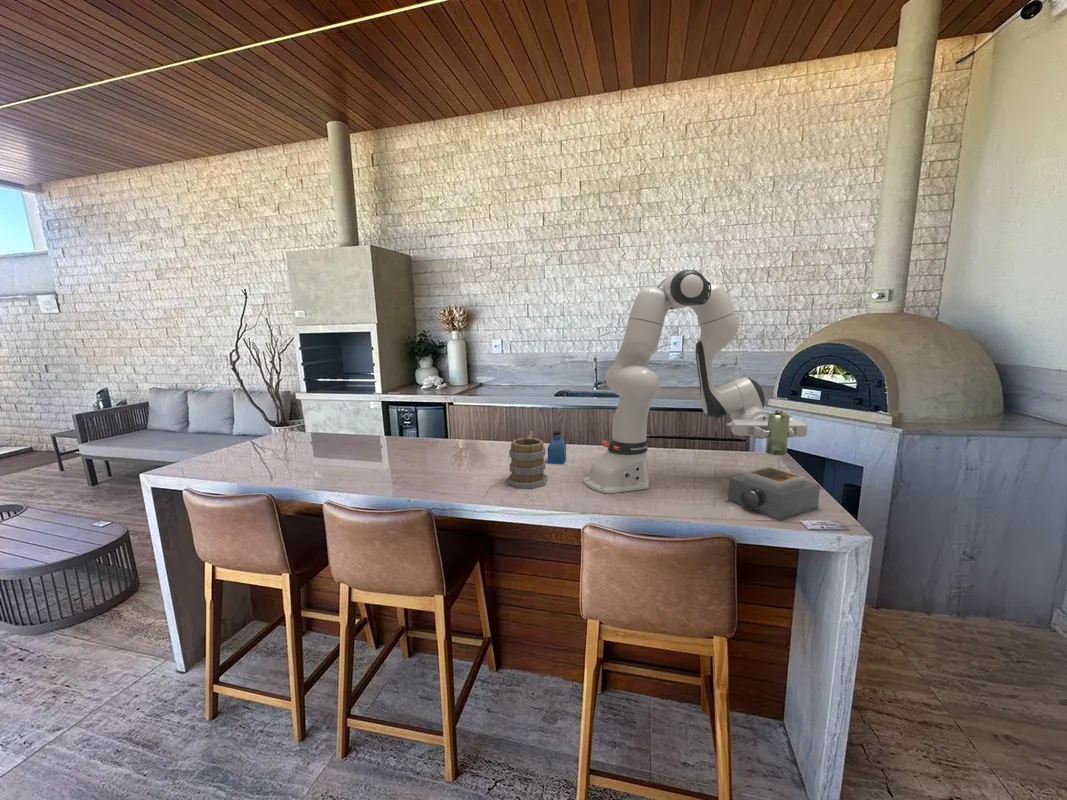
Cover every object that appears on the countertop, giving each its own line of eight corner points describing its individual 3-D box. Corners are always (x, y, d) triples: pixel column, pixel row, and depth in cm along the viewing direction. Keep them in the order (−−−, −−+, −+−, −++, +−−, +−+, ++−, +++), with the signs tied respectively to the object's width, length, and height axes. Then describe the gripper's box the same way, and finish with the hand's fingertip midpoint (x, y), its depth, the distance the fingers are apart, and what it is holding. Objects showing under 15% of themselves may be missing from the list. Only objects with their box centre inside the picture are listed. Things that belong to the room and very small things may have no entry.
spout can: (762, 450, 127) (765, 407, 125) (781, 450, 127) (785, 407, 125) (771, 456, 121) (775, 411, 119) (791, 456, 121) (795, 411, 119)
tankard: (543, 489, 140) (543, 444, 137) (504, 487, 142) (504, 442, 140) (551, 470, 159) (551, 429, 157) (517, 468, 161) (517, 428, 159)
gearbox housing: (775, 522, 115) (777, 489, 114) (723, 501, 129) (725, 472, 127) (817, 508, 124) (820, 477, 122) (765, 490, 138) (767, 462, 136)
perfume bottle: (563, 464, 166) (563, 433, 164) (547, 463, 167) (547, 432, 165) (565, 459, 172) (566, 429, 170) (550, 458, 173) (550, 429, 171)
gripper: (725, 413, 137) (740, 422, 123) (794, 414, 135) (818, 423, 121) (723, 433, 138) (739, 444, 124) (792, 434, 136) (816, 446, 122)
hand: (778, 434), depth 123 cm, fingers closed on spout can, 5 cm apart
